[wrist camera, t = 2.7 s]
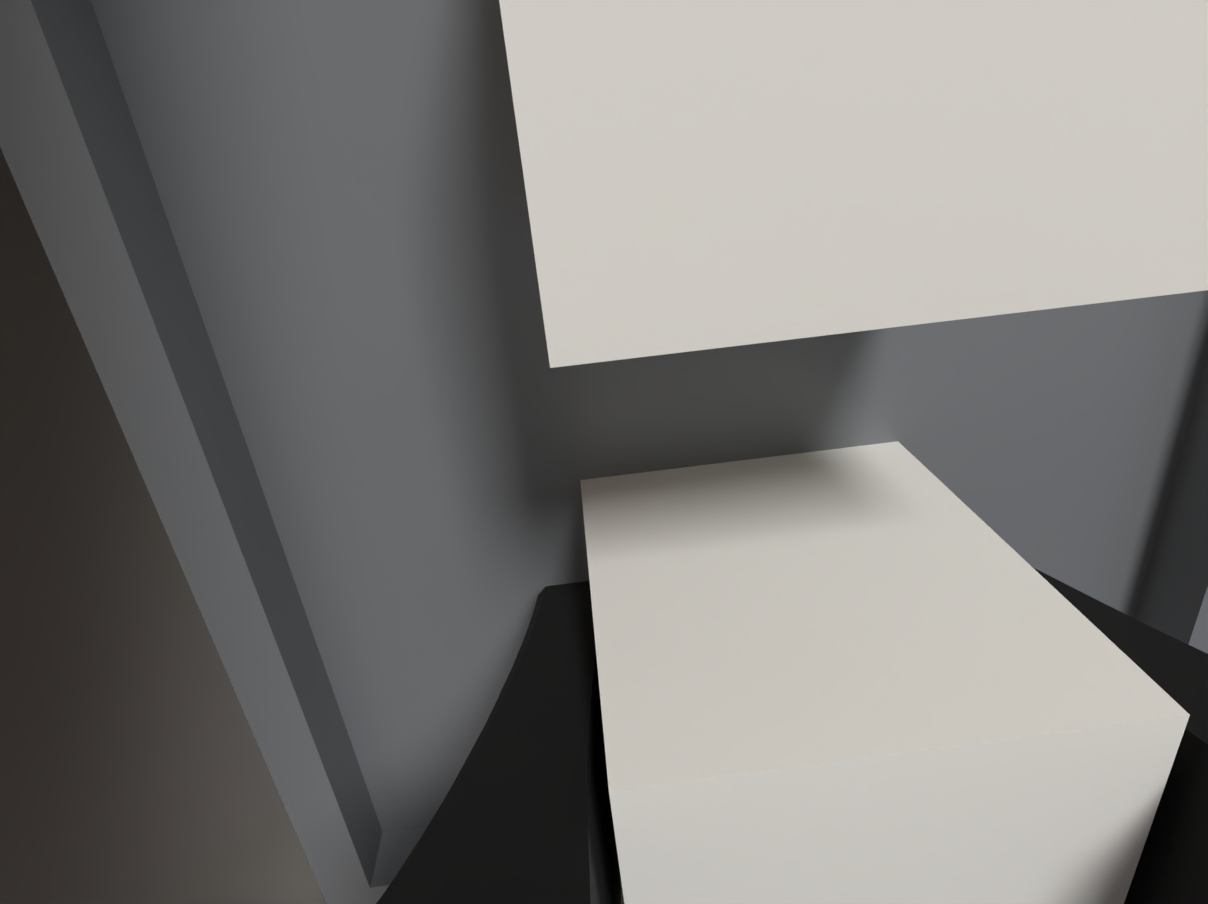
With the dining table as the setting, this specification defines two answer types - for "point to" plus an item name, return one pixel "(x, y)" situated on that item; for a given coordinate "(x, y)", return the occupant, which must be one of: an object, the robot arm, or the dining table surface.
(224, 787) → the dining table surface
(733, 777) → the white block
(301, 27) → the tray
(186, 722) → the dining table surface
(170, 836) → the dining table surface
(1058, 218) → the off-white cube
